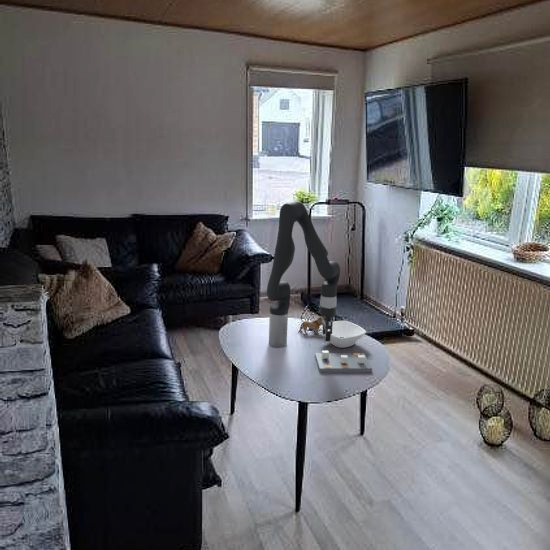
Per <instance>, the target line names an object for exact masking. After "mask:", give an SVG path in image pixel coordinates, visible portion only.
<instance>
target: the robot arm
mask: <svg viewBox="0 0 550 550" xmlns="http://www.w3.org/2000/svg"><path fill="white" fill-rule="evenodd" d="M296 222H297V224H298V225H299V226H300V228H301V229H302V232H303V236H304V237H303V238H304V241H305V246H306V249H307V250H308V252H309V254H310V255H311V257H312V258H313V259H314V263H315V266H316V268H317V272H318V273H319V274H320V276H321V277H322V278H323V279H324V281H323V283H322V285H321V289H320V298H319V315H320V316H321V317H322V325H323V333H322V335H323V334H326V336H325V340H324V341H325V342H329V341H330V338H331V334H332V323H333V322H334V321H333V318H332V317H335V316H336V314H337V300H338V299H337V293H338V292H337V291H338V290H337V289H338V284H339V279H340V276H341V267H340V264H339V263H338V262H337V261H334V260H332V261H329V259H328V256H329V252H328V249H327V248H326V247H325V245H324V243H323V242H322V240H321V239H320V236H319V235H318V233H317V230H316V229H315V227H314V224H313V222H312V220H311V218H310V215H309V213H308V211H307V208H306V206H305V204H304V203H303V202H302V201H300V200H292V201H290V202H286V203H283V204H282V206H281V207H280V210H279V217H278V231H277V238H276V245H275V248H274V255H273V262H272V267H271V272H270V276H269V279H268V282H267V286H266V295H267V298H268V300H269V301H270V302H274V303H273V304H272V305H270V307H269V323H268V324H269V326H268V328H269V329H268V345H269V346H270V347H273V348H284V347H286V346H287V344H288V321H289V310H290V304H291V292H292V290H291V286H290V283H289V282H288V281H286V280H281V279H282V277H283V276H284V274H285V273H286V272H287V270H288V269H289V268H290V266H292V264H293V261H294V258H295V257H294V256H295V251H296V247H295V242H294V239H293V229H294V225H295V223H296ZM328 329H330V331H328Z"/></svg>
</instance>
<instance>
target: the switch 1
mask: <svg viewBox="0 0 550 550" xmlns="http://www.w3.org/2000/svg"><path fill="white" fill-rule="evenodd" d="M321 353H322V359H329V353H330V352H329V350H321Z"/></svg>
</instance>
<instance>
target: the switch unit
mask: <svg viewBox="0 0 550 550" xmlns="http://www.w3.org/2000/svg"><path fill="white" fill-rule="evenodd" d="M341 355H347V356H348V363H341V362H340V357H341ZM358 355H364V356H365V363H358V362H357V356H358ZM314 358H316V359H315V361H316V365H317V368H318V371H319V373H372V372H373V367H372V365H371V364H370V362H369V360H368V358H367V356H366V355H365V352H336V353H335V352H329V359H322V352H315V353H314Z"/></svg>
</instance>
